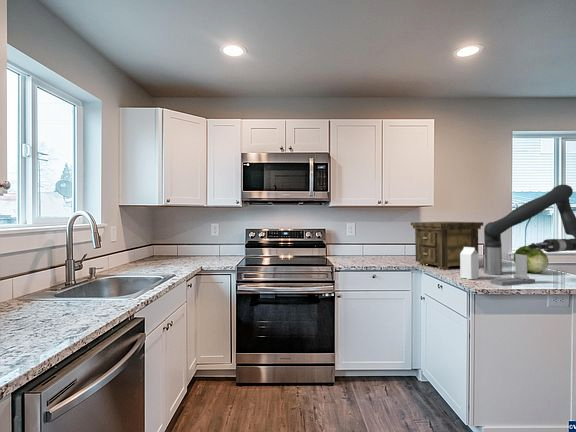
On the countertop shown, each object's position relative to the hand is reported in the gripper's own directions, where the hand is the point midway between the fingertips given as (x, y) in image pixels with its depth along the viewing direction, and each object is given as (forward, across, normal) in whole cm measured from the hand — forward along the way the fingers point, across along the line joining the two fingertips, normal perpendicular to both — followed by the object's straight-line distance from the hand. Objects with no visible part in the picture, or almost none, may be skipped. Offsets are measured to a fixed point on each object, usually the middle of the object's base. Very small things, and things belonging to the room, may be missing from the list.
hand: (529, 246), depth 193 cm
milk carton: (+25, -18, +20) cm, 36 cm away
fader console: (+12, 0, +20) cm, 23 cm away
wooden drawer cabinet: (+6, -64, +20) cm, 67 cm away
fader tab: (+6, 0, +17) cm, 18 cm away
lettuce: (-28, -23, +20) cm, 42 cm away
